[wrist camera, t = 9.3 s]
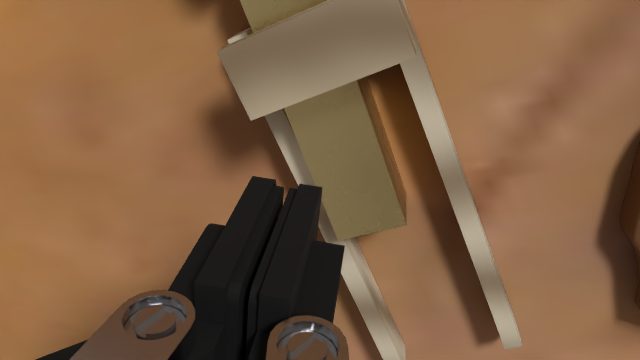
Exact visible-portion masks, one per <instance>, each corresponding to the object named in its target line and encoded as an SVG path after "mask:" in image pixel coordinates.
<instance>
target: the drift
mask: <svg viewBox="0 0 640 360" xmlns="http://www.w3.org/2000/svg"><path fill="white" fill-rule="evenodd" d="M325 1H327V0H240V2H241V4H242V7H243V9H244V12H245V14H246V17H247V19H248V22H249V24H250V27H251V29H252V31H253V33H255V32H257V31H260V30H262V29H264V28H266V27H269V26H271V25H273V24H275V23H278V22H280V21H282V20H284V19H287V18H289V17H291V16H294V15H296V14H298V13H300V12H303V11H305V10H307V9H309V8H312V7H314V6H316V5H318V4H321V3H323V2H325ZM284 110H285V112H286V115H287V117H288V119H289V122H290V124H291V127H292V129H293V132H294V134H295V137H296V139H297V141H298V144H299V146H300V149H301V151H302V154H303V156H304V159H305V161H306V163H307V166H308V168H309V171H310V173H311V176H312V178H313V181H314V183H315V185H316V186H319V187H322V198H321V200H322V203H323V205H324V207H325V210H326V212H327V215H328V217H329V220H330V222H331V225H332V227H333V230H334V232H335V234H336V237H337V239H338V241H341V240H345V239H349V238H353V237H357V236H362V235H366V234H370V233H374V232H379V231H383V230H387V229H391V228H396V227H400V226H404V225H406V191H405V188H404V185H403V182H402V179H401V176H400V173H399V170H398V167H397V164H396V161H395V159H394V156H393V153H392V150H391V147H390V144H389V141H388V138H387V135H386V132H385V129H384V126H383V123H382V120H381V117H380V114H379V111H378V108H377V105H376V102H375V99H374V96H373V93H372V90H371V87H370V84H369V81H368V78H367V76H366V77H363V78H361V79H358V80H355V81H353V82H350V83H348V84H345V85H342V86H340V87H337V88H335V89H332V90H329V91H327V92H324V93H322V94H319V95H316V96H314V97H311V98H309V99H306V100H303V101H301V102H298V103H296V104H293V105H291V106H288V107H285V108H284Z"/></svg>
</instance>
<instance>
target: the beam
mask: <svg viewBox="0 0 640 360" xmlns="http://www.w3.org/2000/svg"><path fill="white" fill-rule="evenodd" d="M227 41H228V43H229V44H228V45H226V46H224V47H223V48H221V49H220V50H218V51H217V54H218V56H219V58H220V60H221V62H222V64H223V66H224V68H225V70H226V72H227V74H228V76H229V78H230V80H231V82H232V84H233V86H234V88H235V90H236V92H237V94H238V96H239V98H240V100H241V102H242V104H243V106H244V108H245V110H246V112H247V114H248V116H249V118H250V120H251V121H252V120H254V119H257V118H259V117H262V116H265V118H266V120H267V122H268V125H269V127H270V129H271V131H272V133H273V135H274V137H275V139H276V141H277V143H278V145H279V147H280V149H281V151H282V153H283V155H284V157H285V159H286V161H287V163H288V165H289V168H290V170H291V172H292V174H293V176H294V178H295V180H296V182H297V184H298V186H299V184H306V185H312V186H316V185H315V183H314V181H313V178H312V176H311V173H310V171H309V168H308V166H307V163H306V161H305V159H304V156H303V154H302V151H301V149H300V146H299V144H298V141H297V139H296V137H295V134H294V132H293V129H292V127H291V124H290V122H289V119H288V117H287V115H286V112H285V110H284V108H285V107H288V106H291V105H293V104H296V103H298V102H301V101H303V100H306V99H309V98H311V97H314V96H316V95H319V94H322V93H324V92H327V91H329V90H332V89H335V88H337V87H340V86H342V85H345V84H348V83H350V82H353V81H355V80H358V79H361V78H363V77H366V76H368V75H371V74H374V73H376V72H379V71H381V70H384V69H386V68H389V67H392V66H394V65H397V64H399V63H400V65H401V68H402V71H403V74H404V76H405V79H406V82H407V84H408V87H409V90H410V93H411V95H412V98H413V101H414V103H415V106H416V109H417V112H418V114H419V117H420V120H421V122H422V125H423V128H424V131H425V133H426V136H427V139H428V142H429V144H430V147H431V150H432V152H433V155H434V158H435V161H436V163H437V166H438V169H439V171H440V174H441V177H442V180H443V182H444V185H445V188H446V190H447V193H448V196H449V199H450V201H451V204H452V207H453V209H454V212H455V215H456V218H457V220H458V223H459V226H460V229H461V231H462V234H463V237H464V239H465V242H466V245H467V248H468V250H469V253H470V256H471V258H472V261H473V264H474V267H475V269H476V272H477V275H478V277H479V280H480V283H481V286H482V288H483V291H484V294H485V296H486V299H487V302H488V305H489V307H490V310H491V313H492V315H493V318H494V321H495V324H496V326H497V329H498V332H499V335H500V337H501V340H502V343H503V345H504V348H505V350H507V349H512V348H517V347H522V346H523V345H522V341H521V338H520V334H519V331H518V327H517V324H516V321H515V318H514V315H513V312H512V309H511V306H510V303H509V300H508V298H507V295H506V292H505V289H504V286H503V283H502V280H501V277H500V275H499V272H498V269H497V266H496V263H495V260H494V257H493V254H492V252H491V249H490V246H489V243H488V240H487V237H486V234H485V231H484V229H483V226H482V223H481V220H480V217H479V214H478V211H477V209H476V206H475V203H474V200H473V197H472V194H471V191H470V188H469V186H468V183H467V180H466V177H465V174H464V171H463V168H462V165H461V163H460V160H459V157H458V154H457V151H456V148H455V145H454V142H453V140H452V137H451V134H450V131H449V128H448V125H447V122H446V120H445V117H444V114H443V111H442V108H441V105H440V102H439V99H438V97H437V94H436V91H435V88H434V85H433V82H432V79H431V76H430V74H429V71H428V68H427V65H426V62H425V59H424V56H423V53H422V51H421V48H420V45H419V42H418V39H417V36H416V33H415V31H414V28H413V25H412V22H411V19H410V16H409V13H408V10H407V8H406V5H405V2H404V0H327V1H325V2H323V3H321V4H318V5H316V6H314V7H312V8H309V9H307V10H305V11H303V12H300V13H298V14H296V15H294V16H291V17H289V18H287V19H284V20H282V21H280V22H278V23H275V24H273V25H271V26H269V27H266V28H264V29H262V30H260V31H257V32H255V33H253V31H252V29H251V27H250V28H248V29H245V30H243V31H241V32H239V33H237V34H236V35H234V36H233V37H231V38H230V39H228V40H227ZM318 227H319V229H320V231H321V233H322V235H323V237H324V239H325V241H326V242H327V243H333V244H339V245H345V249H344V255H343V262H342V268H341V274H342V276H343V278H344V280H345V282H346V284H347V286H348V288H349V290H350V293H351V295H352V297H353V299H354V301H355V303H356V305H357V307H358V309H359V311H360V313H361V315H362V317H363V319H364V321H365V323H366V325H367V327H368V329H369V331H370V333H371V336H372V338H373V340H374V342H375V344H376V346H377V348H378V350H379V352H380V354H381V356H382V358H383V360H405V344H404V342H403V340H402V338H401V336H400V334H399V331H398V329H397V327H396V325H395V323H394V321H393V318H392V316H391V314H390V312H389V310H388V308H387V305H386V303H385V301H384V299H383V297H382V295H381V292H380V290H379V288H378V286H377V284H376V282H375V279H374V277H373V275H372V273H371V271H370V269H369V266H368V264H367V262H366V260H365V258H364V256H363V253H362V251H361V249H360V247H359V245H358V243H357V240H356V238H355V237H353V238H349V239H345V240H341V241H338V239H337V237H336V234H335V232H334V230H333V227H332V225H331V222H330V220H329V217H328V215H327V212H326V210H325V207H324V205H323V203H322V200H321V207H320V215H319V223H318Z"/></svg>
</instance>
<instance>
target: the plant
mask: <svg viewBox="0 0 640 360" xmlns="http://www.w3.org/2000/svg"><path fill="white" fill-rule="evenodd" d="M620 223H621V226H622V228H623V230H624V232H625V234H626V235H627V237H628V238H629V240H630V242H631V243H632V245H633V247H634V249H635V252H636V256H637V274H638V285H637V291H636V297H635V302H636V304H637V305H638V307H639V308H640V144H639V146H638V149H637V152H636V155H635V159H634V163H633V168H632V172H631V177H630V181H629V184H628V188H627V192H626V195H625V198H624V202H623V206H622V210H621V215H620Z"/></svg>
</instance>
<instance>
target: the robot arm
mask: <svg viewBox="0 0 640 360" xmlns="http://www.w3.org/2000/svg"><path fill="white" fill-rule="evenodd" d="M283 195H284V188H283V187H280V186H276V180H274V179H268V178H261V177H255V176H253V177H252V178H251V180H250V181H249V183H248V185H247V187H246V189H245V191H244V192H243V194H242V196H241V198H240V200H239V202H238V203H237V205H236V207H235V209H234V211H233V213H232V214H231V216H230V218H229V220H228V222H227V224H226V225H225V226H224V225H218V224H212V223H211V224H208V226H207V227H206V228H205V230H204V232H203V233H202V235H201V237H200V238H199V240H198V242H197V243H196V245H195V247H194V248H193V250H192V251H191V253H190V255H189V256H188V258H187V260H186V261H185V263H184V265H183V266H182V268H181V270H180V271H179V273H178V275H177V276H176V278H175V280H174V281H173V283H172V285H171V286H170V288H169V290H168V291H167V290H155V291H149V292H145V293H140V294H138V295H136V296H134V297H132V298H130V299H128V300H127V301H126V302H125V303H123V304H122V305H121V306H120V307H119V308H118V309H117V310H116V311H115V312H114V313H113V314H112V315H111V316H110V317H109V318H108V320H107V321H106V322H105V323H104V324H103V325H102V326H101V327H100V328H99V329H98V330H97V331H96V332H95V333H94V334H93V335H92V336H91V338H90V339H89V340H86V341H83V342H81V343H78V344H75V345H73V346H70V347H67V348H65V349H62V350H59V351H57V352H54V353H52V354H49V355H46V356H44V357H41V358H38V359H36V360H349V352H348V345H347V341H346V337H345V336H344V335H343V333H342V332H341V330H340V329H339V328H338V327H336V326H335V325H334V324H333V319H334V313H335V307H336V300H337V294H338V288H339V281H340V275H341V268H342V262H343V255H344V249H345V245H339V244H333V243H327V242H321V241H316V240H317V232H318V223H319V215H320V207H321V198H322V187H319V186H312V185H306V184H299V186H298V189H293V188H290V189H289V191H288V194H287V196H286V199H285V202H284V204H283Z"/></svg>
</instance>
